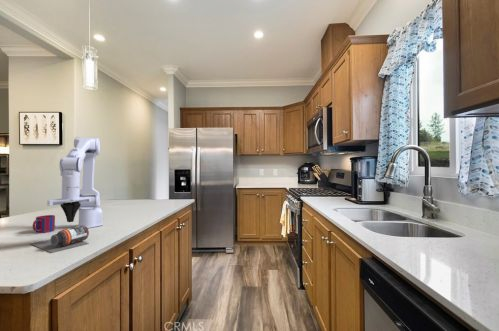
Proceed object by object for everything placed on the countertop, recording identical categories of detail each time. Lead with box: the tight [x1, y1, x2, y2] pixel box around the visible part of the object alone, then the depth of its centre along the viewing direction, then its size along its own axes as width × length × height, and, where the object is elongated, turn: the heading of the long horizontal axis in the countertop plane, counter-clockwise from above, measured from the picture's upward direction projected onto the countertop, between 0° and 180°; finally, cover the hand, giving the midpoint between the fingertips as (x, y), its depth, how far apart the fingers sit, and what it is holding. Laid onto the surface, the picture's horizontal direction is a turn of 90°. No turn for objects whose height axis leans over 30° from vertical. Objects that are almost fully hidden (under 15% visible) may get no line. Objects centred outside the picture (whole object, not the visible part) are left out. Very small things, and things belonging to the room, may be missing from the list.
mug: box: [32, 214, 56, 234], centre depth 109 cm, size 7×10×7 cm
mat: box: [29, 238, 89, 254], centre depth 93 cm, size 12×18×1 cm, turn 59°
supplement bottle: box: [50, 225, 90, 246], centre depth 92 cm, size 6×6×11 cm
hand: (70, 221), depth 96 cm, fingers closed
